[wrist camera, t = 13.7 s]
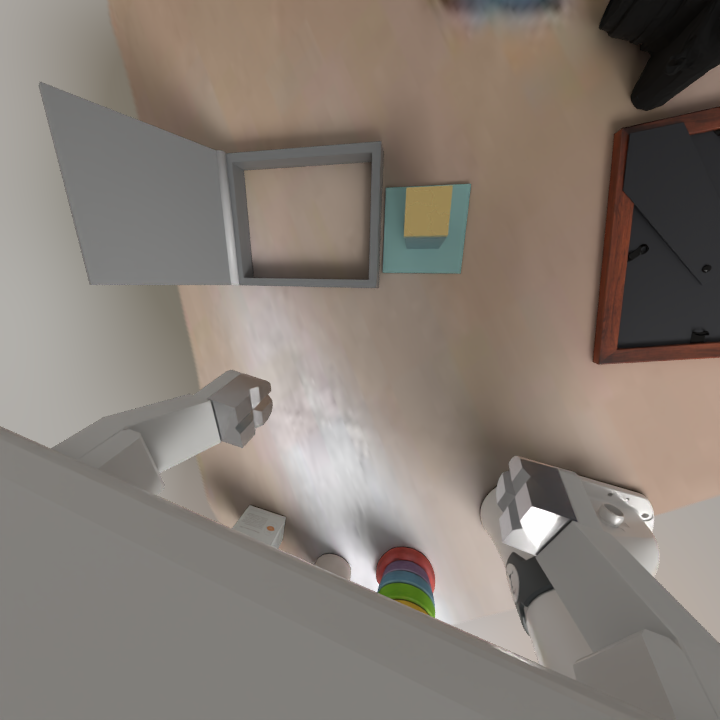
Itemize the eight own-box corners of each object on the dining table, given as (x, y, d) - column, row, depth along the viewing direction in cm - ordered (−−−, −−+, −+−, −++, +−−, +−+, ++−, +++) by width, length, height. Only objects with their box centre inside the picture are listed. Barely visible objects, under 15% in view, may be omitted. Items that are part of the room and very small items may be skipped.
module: (442, 213, 33) (452, 185, 23) (438, 248, 34) (447, 235, 24) (408, 214, 33) (406, 187, 24) (406, 249, 34) (403, 236, 25)
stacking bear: (375, 579, 52) (356, 719, 35) (379, 539, 49) (360, 672, 32) (432, 592, 50) (441, 748, 33) (439, 552, 47) (453, 700, 30)
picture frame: (610, 136, 29) (589, 360, 35) (624, 126, 27) (599, 365, 33) (871, 79, 24) (794, 348, 30) (910, 62, 22) (819, 352, 28)
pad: (470, 184, 32) (471, 183, 31) (460, 273, 34) (460, 273, 34) (386, 188, 33) (385, 187, 33) (383, 272, 36) (382, 272, 36)
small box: (247, 527, 55) (199, 597, 43) (249, 503, 53) (199, 569, 41) (283, 540, 54) (245, 615, 42) (287, 516, 52) (247, 588, 40)
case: (383, 151, 32) (355, 31, 17) (378, 287, 37) (352, 290, 21) (190, 165, 37) (32, 82, 22) (207, 284, 42) (85, 284, 26)
